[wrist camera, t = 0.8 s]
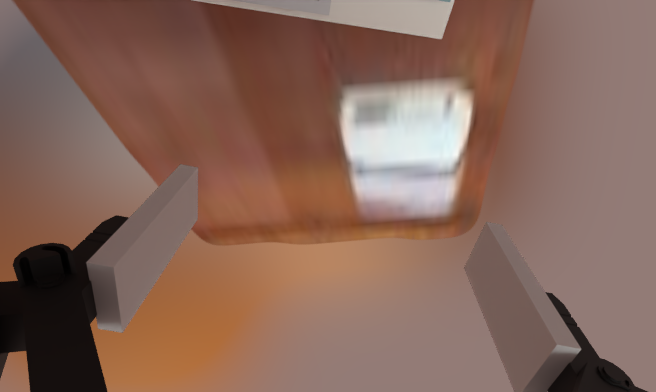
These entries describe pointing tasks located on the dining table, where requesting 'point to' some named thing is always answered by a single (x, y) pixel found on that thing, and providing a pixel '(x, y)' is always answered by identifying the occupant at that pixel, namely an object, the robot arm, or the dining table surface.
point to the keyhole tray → (362, 13)
